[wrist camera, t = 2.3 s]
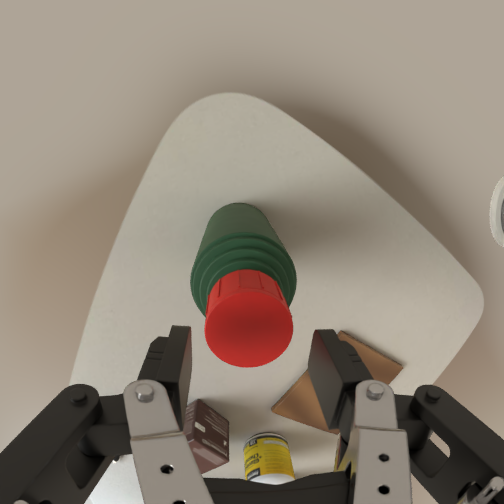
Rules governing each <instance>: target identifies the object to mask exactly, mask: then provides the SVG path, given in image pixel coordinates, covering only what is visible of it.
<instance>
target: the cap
mask: <svg viewBox="0 0 504 504" xmlns="http://www.w3.org/2000/svg"><path fill="white" fill-rule="evenodd" d="M205 315H206V321H205V330H204V331H205V338H206V341H207V344H208V346H209V348H210V349H211V351H212V352H213V353H214V354H215V355H216V356H217V357H218V358H219V359H221V360H222V361H224V362H226V363H228V364H231V365H234V366H238V367H258V366H262V365H265V364H267V363H269V362H271V361H273V360H275V359H276V358H278V357H279V356H280V355H281V354H282V353H283V352H284V351H285V350H286V348H287V347H288V345H289V343H290V341H291V338H292V334H293V322H292V315H291V313H290V310H289V308H288V305H287V302H286V300H285V297H283V294H282V292H281V289H280V287H279V286H278V284H277V282H276V281H274V280H273V279H272V278H271V277H269V276H268V275H266V274H264V273H262V272H260V271H256V270H249V269H246V270H237V271H234V272H231V273H229V274H227V275H225V276H224V277H222V278H221V279H219V281H218V282H217V283H216V284H215V285H214V287H213V288H212V290H211V293H210V295H208V300H207V307H206V314H205Z"/></svg>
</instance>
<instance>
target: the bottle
mask: <svg viewBox="0 0 504 504" xmlns="http://www.w3.org/2000/svg"><path fill="white" fill-rule="evenodd" d="M246 269H249V270H256V271H260V272H262V273H264V274H266V275H268V276H269V277H271V278H272V279H273V280H274V281H276V282H277V284H278V286H279V287H280V289H281V292H282V294H283V297H285V300H286V302H287V305H288V308H289V306H290V304H291V302H292V300H293V297H294V294H295V290H296V283H297V278H296V271H295V267H294V264H293V262H292V260H291V258H290V256H289V254H288V253H287V251H286V249H285V248H284V246H283V244H282V243H281V241H280V240H279V238H278V236H277V235H276V233H275V231H274V230H273V228H272V227H271V225H270V223H269V222H268V220H267V218H266V217H265V216H264V214H263V213H262V212H261V211H260V210H258V209H257V208H255V207H253V206H251V205H248V204H244V203H233V204H229V205H226V206H224V207H222V208H220V209H219V210H218V211H216V213H215V214H214V215H213V216H212V217H211V219H210V221H209V223H208V225H207V228H206V231H205V234H204V236H203V239H202V242H201V245H200V248H199V251H198V254H197V256H196V259H195V262H194V265H193V268H192V272H191V280H190V284H191V292H192V296H193V298H194V301H195V303H196V305H197V307H198V308H199V310H200V311H201V312H202V314H203V315H204V316H205V317H206V315H205V314H206V307H207V300H208V295H210V293H211V290H212V288H213V287H214V285H215V284H216V283H217V282H218V281H219V279H221V278H222V277H224V276H225V275H227V274H229V273H231V272H234V271H237V270H246Z"/></svg>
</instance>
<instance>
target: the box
mask: <svg viewBox="0 0 504 504" xmlns="http://www.w3.org/2000/svg"><path fill="white" fill-rule="evenodd" d="M183 432H184V434H185V436H186V438H187V441H188V444H189V446H190V449H191V451H192V454H193V456H194V459H195V461H196V463H197V466H198V468H199V470H200V473H201V474H203V473H205V472H208V471H210V470H212V469H214V468H217V467H219V466H221V465H223V464H226V463H228V462H229V422H228V421H227V420H226V419H225V418H223V417H222V416H221V415H219V414H218V413H217V412H216V411H214V410H213V409H211V408H210V407H209V406H207V405H206V404H205V403H203V402H202V401H201V400H198V399H197V400H195V401H194V402H192V403H191V404H189V405H188V406H187V407H186V414H185V422H184V429H183Z"/></svg>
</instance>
